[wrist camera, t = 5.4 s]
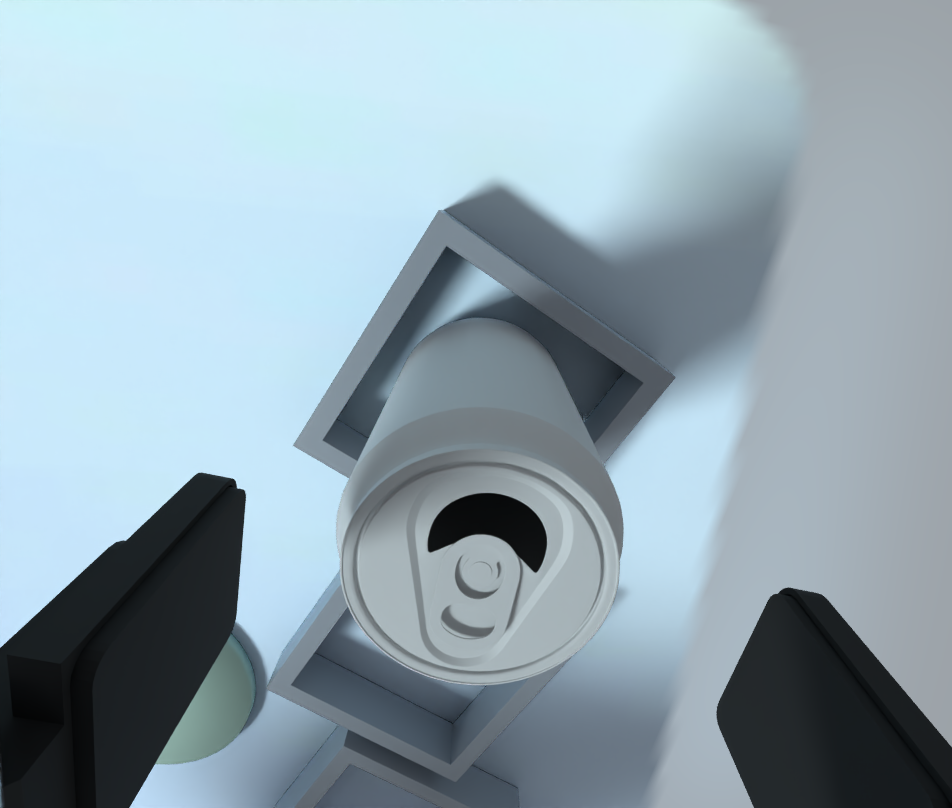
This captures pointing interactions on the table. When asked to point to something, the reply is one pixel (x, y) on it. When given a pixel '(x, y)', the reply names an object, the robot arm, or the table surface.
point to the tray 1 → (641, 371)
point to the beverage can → (479, 513)
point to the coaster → (214, 709)
